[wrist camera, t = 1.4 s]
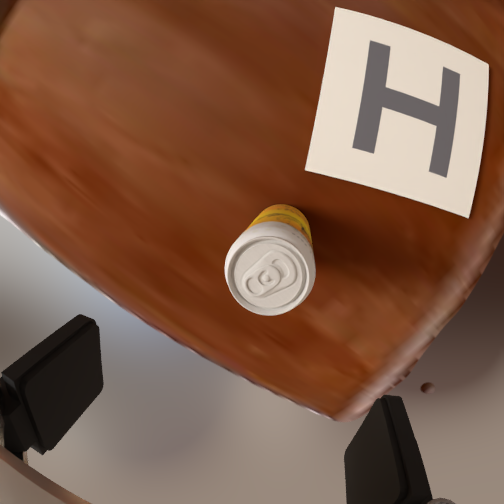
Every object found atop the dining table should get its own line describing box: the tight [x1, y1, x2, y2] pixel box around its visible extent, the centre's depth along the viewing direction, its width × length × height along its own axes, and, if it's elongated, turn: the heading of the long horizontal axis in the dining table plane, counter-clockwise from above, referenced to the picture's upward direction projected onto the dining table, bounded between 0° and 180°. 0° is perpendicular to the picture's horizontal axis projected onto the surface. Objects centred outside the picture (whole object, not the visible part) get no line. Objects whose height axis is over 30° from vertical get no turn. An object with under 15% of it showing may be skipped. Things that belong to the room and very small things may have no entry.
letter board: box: [305, 7, 489, 218], centre depth 28 cm, size 20×20×1 cm
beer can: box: [225, 204, 316, 315], centre depth 27 cm, size 6×6×15 cm
